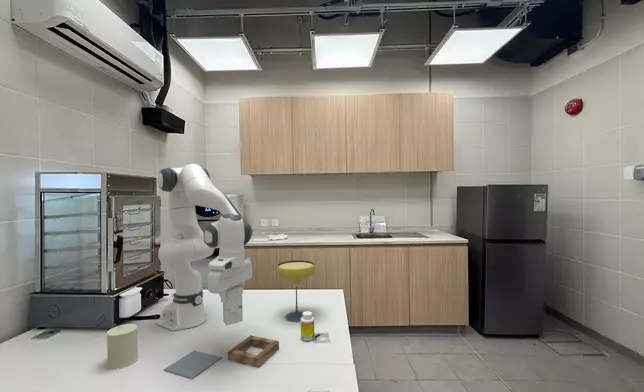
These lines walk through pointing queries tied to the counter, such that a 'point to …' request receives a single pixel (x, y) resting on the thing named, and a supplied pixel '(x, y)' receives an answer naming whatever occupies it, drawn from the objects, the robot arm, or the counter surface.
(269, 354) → the walnut collar
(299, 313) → the cocktail glass
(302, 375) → the counter surface
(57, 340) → the counter surface
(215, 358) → the slate mat
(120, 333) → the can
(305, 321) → the supplement bottle
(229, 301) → the skincare box
